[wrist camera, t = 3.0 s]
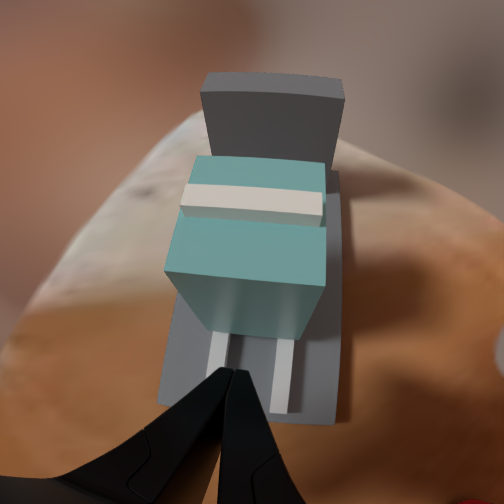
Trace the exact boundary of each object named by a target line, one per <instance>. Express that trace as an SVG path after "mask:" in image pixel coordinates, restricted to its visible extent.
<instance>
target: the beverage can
mask: <svg viewBox="0 0 504 504" xmlns="http://www.w3.org/2000/svg"><path fill="white" fill-rule="evenodd" d="M457 504H492V503H488V502H484V501H481V500H476V499H471V500H465V501H462V502H459V503H457Z"/></svg>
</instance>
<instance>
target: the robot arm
mask: <svg viewBox="0 0 504 504" xmlns="http://www.w3.org/2000/svg"><path fill="white" fill-rule="evenodd" d="M220 451H221V456H220V469H219V483H218V498H217V504H306V503H305V501H304V500H303V498H302V496H301V495H300V493H299V491H298V490H297V488H296V486H295V484H294V483H293V481H292V479H291V477H290V475H289V473H288V471H287V468H286V466H285V464H284V462H283V459H282V457H281V454H280V453H279V449H278V447H277V444H276V442H275V439H274V437H273V434H272V431H271V429H270V426H269V423H268V421H267V418H266V416H265V413H264V410H263V408H262V405H261V402H260V399H259V397H258V394H257V391H256V389H255V386H254V383H253V380H252V378H251V375H250V372H249V371H248V370H243V369H235V370H234V369H233V368H227V367H219V368H218V369H216V370H215V371H214V372H213V373H212V374H210V375H209V376H208V377H207V378H206V379H204V380H203V381H202V382H201V383H200V384H198V385H197V386H196V387H195V388H194V389H192V390H191V391H190V392H189V393H187V394H186V395H185V396H184V397H183V398H181V399H180V400H179V401H178V402H176V403H175V404H174V405H173V406H171V407H170V408H169V409H168V410H166V411H165V412H164V413H162V414H161V415H160V416H159V417H157V418H156V419H155V420H153V421H152V422H151V423H150V424H148V425H147V426H146V427H144V430H143V429H142V430H140V431H139V432H138V433H136V434H135V435H134V436H132V437H131V438H129V439H128V440H126V441H125V442H124V443H122V444H121V445H119V446H117V447H116V448H114V449H112V450H111V451H109V452H107V453H106V454H104V455H102V456H100V457H98V458H96V459H94V460H92V461H91V462H89V463H87V464H85V465H83V466H81V467H79V468H77V469H75V470H73V471H71V472H69V473H66V474H64V475H61V476H58V477H53V478H46V479H39V478H21V477H10V476H0V504H202V501H203V499H204V496H205V493H206V490H207V488H208V485H209V482H210V479H211V477H212V474H213V471H214V468H215V465H216V463H217V460H218V457H219V454H220Z"/></svg>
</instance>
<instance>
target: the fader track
mask: <svg viewBox="0 0 504 504" xmlns="http://www.w3.org/2000/svg"><path fill="white" fill-rule="evenodd" d="M200 95H201V101H202V106H203V111H204V117H205V122H206V127H207V132H208V137H209V143H210V148H211V153H212V156H232V157H253V158H270V159H284V160H296V161H307V162H317V163H325V186H326V284H325V288H324V290H323V292H322V295H321V297H320V299H319V301H318V303H317V305H316V307H315V309H314V311H313V313H312V315H311V317H310V319H309V321H308V323H307V325H306V327H305V329H304V331H303V333H302V335H301V337H300V339H299V340H291V339H280V338H269V337H259V336H249V335H240V334H232V333H224V332H216V331H208V330H207V329H206V328H205V327H204V325H203V324H202V323H201V321H200V320H199V319H198V317H197V316H196V315H195V313H194V312H193V311H192V309H191V308H190V307H189V305H188V304H187V303H186V301H185V300H184V299H183V297H182V296H181V294H180V293H179V292H177V297H176V301H175V306H174V311H173V316H172V321H171V326H170V331H169V336H168V341H167V347H166V352H165V357H164V363H163V369H162V374H161V380H160V386H159V392H158V399H157V404H161V405H166V406H170V407H171V406H173V405H174V404H175V403H176V402H178V401H179V400H180V399H181V398H183V397H184V396H185V395H186V394H187V393H189V392H190V391H191V390H192V389H194V388H195V387H196V386H197V385H198V384H200V383H201V382H202V381H203V380H204V379H206V378H207V377H208V376H209V375H210V374H212V373H213V372H214V371H215V370H216V369H218V368H219V367H227V368H233V369H234V370H235V369H243V370H248V371H249V372H250V375H251V378H252V380H253V383H254V386H255V389H256V391H257V394H258V397H259V399H260V402H261V405H262V408H263V410H264V413H265V416H266V418H267V421H268V422H278V423H291V424H310V425H335V416H336V406H337V394H338V382H339V367H340V349H341V325H342V230H341V205H340V187H339V172H338V171H332V170H331V166H332V161H333V157H334V152H335V147H336V143H337V138H338V133H339V128H340V123H341V118H342V113H343V108H344V102H345V96H344V91H343V86H342V81H341V79H335V78H326V77H317V76H307V75H295V74H282V73H259V72H216V73H208V75H207V78H206V80H205V82H204V84H203V86H202V88H201V90H200Z"/></svg>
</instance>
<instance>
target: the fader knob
mask: <svg viewBox="0 0 504 504" xmlns="http://www.w3.org/2000/svg"><path fill="white" fill-rule="evenodd" d="M180 207H181V208H180V212H179V215H178V219H177V222H176V226H175V229H174V233H173V237H172V240H171V244H170V248H169V252H168V255H167V259H166V263H165V267H164V272H165V273H166V275H167V276H168V278H169V279H170V280H171V282H172V283H173V285H174V286H175V287H176V289H177V290H178V292H179V293H180V294H181V296H182V297H183V299H184V300H185V301H186V303H187V304H188V305H189V307H190V308H191V309H192V311H193V312H194V313H195V315H196V316H197V317H198V319H199V320H200V321H201V323H202V324H203V325H204V327H205V328H206V329H207V330H208V331H216V332H224V333H232V334H240V335H249V336H259V337H269V338H280V339H291V340H299V339H300V337H301V335H302V333H303V331H304V329H305V327H306V325H307V323H308V321H309V319H310V317H311V315H312V313H313V311H314V309H315V307H316V305H317V303H318V301H319V299H320V297H321V295H322V292H323V290H324V288H325V284H326V186H325V163H317V162H307V161H296V160H284V159H270V158H253V157H232V156H197V157H196V160H195V163H194V166H193V169H192V172H191V176H190V179H189V182H188V184H186V186H185V190H184V193H183V196H182V199H181V203H180Z"/></svg>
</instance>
